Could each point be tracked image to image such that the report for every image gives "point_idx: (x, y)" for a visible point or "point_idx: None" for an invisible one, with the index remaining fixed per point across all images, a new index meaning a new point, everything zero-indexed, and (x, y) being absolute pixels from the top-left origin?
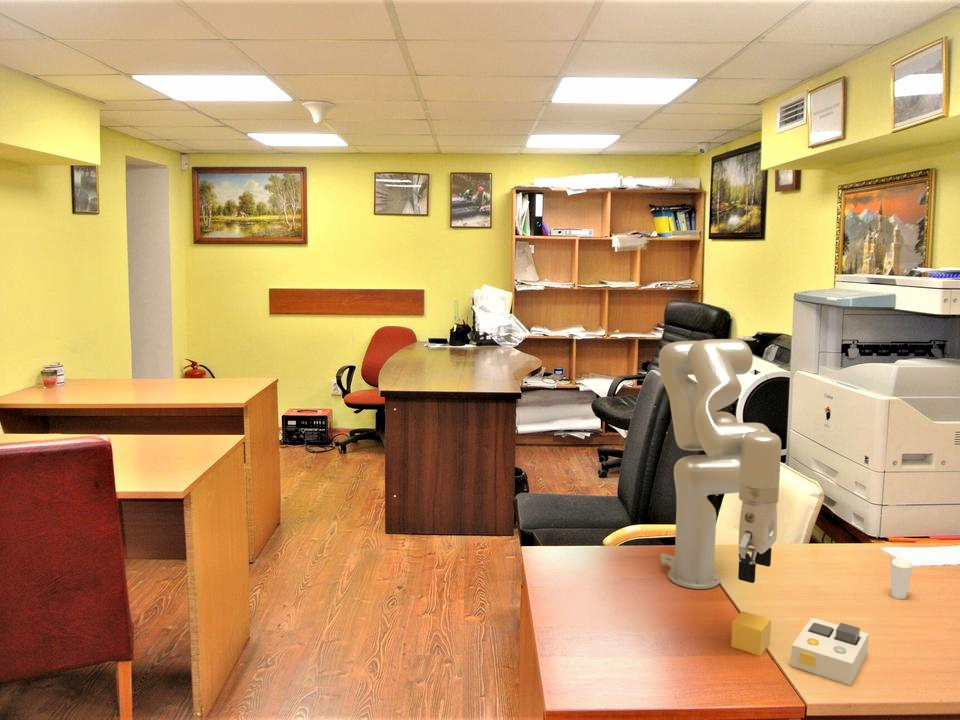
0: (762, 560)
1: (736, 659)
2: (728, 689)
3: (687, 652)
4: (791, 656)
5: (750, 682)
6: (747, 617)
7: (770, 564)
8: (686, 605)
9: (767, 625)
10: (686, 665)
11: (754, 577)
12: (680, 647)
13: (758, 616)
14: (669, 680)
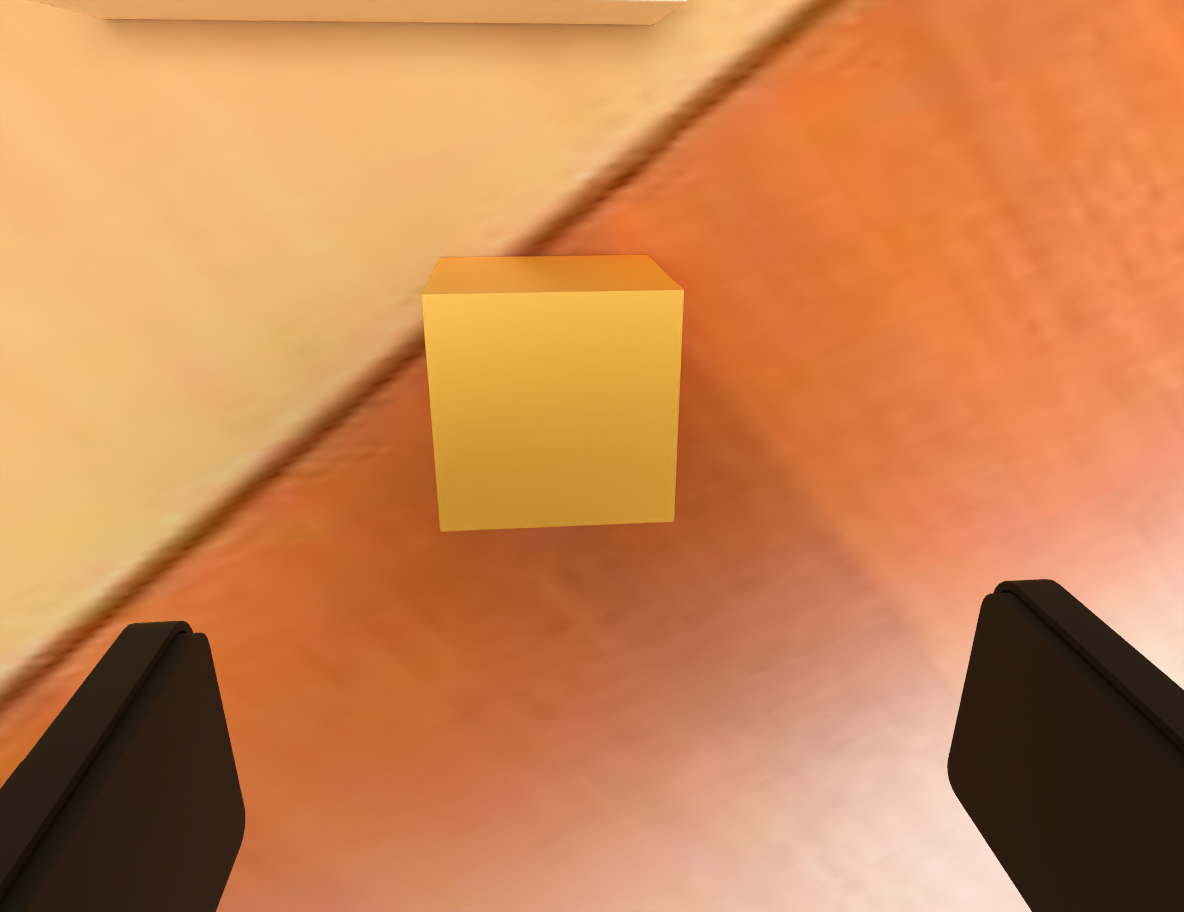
0: (195, 790)
1: (772, 363)
2: (1126, 277)
3: (847, 600)
4: (665, 14)
5: (995, 195)
6: (525, 461)
7: (137, 632)
8: (330, 815)
9: (521, 289)
10: (981, 550)
11: (1102, 627)
12: (815, 646)
13: (445, 399)
14: (1160, 553)
